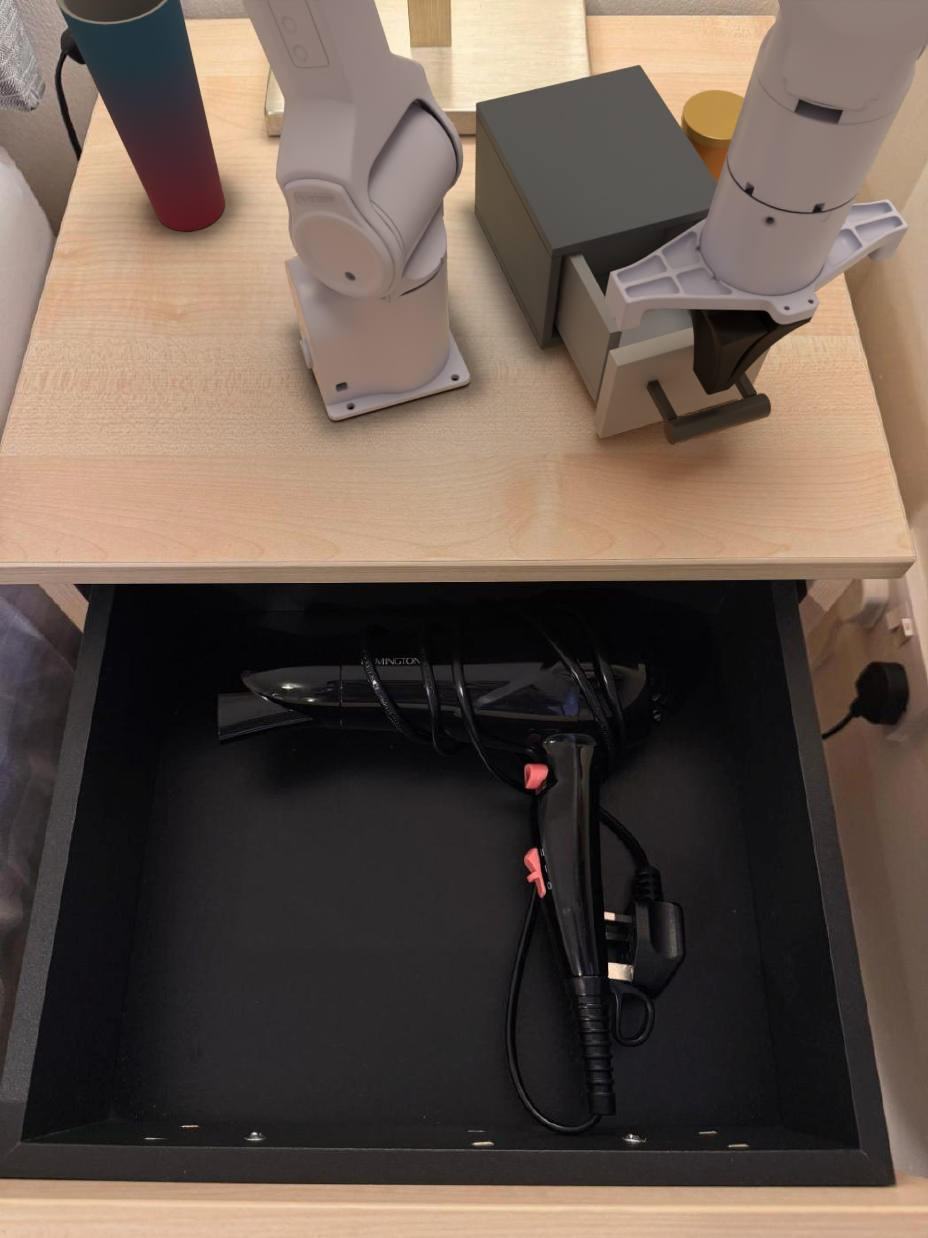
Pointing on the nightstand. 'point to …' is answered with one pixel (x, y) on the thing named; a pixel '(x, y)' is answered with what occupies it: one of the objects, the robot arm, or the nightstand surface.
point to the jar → (711, 125)
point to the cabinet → (579, 178)
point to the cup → (152, 101)
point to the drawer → (643, 352)
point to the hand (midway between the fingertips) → (710, 378)
